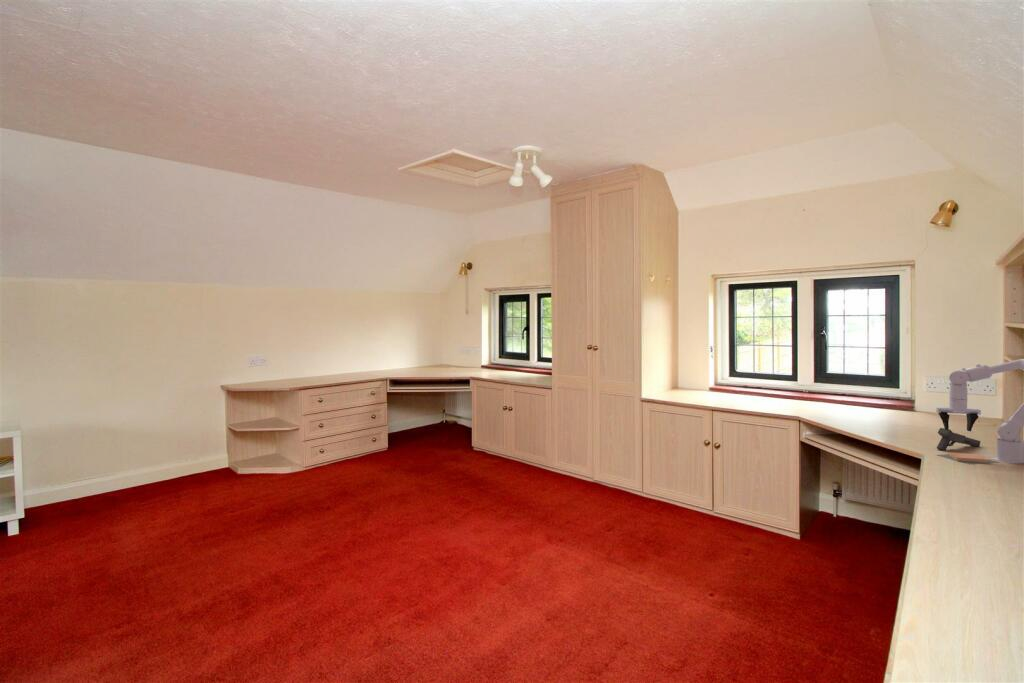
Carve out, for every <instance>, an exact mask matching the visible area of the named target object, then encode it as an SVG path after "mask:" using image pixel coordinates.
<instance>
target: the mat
mask: <svg viewBox="0 0 1024 683" xmlns="http://www.w3.org/2000/svg"><path fill="white" fill-rule="evenodd" d="M965 454H967V453H965ZM936 456H938V457H941V458H944V459H948V460H951V461H954V462H958V463H962V464H967V465H981V464H986V463H978V462H964V461H956V460H954V459H953V458H951V457H950V456H949V453H947V454H946V453H944V454H936ZM987 459H988V458H987ZM996 463H997V464H998V463H1001V461H1000V462H999V461H997V460H994V459H990V458H989V459H988V463H987V464H996Z"/></svg>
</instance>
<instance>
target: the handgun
mask: <svg viewBox="0 0 1024 683" xmlns="http://www.w3.org/2000/svg"><path fill="white" fill-rule="evenodd" d="M937 434H938V436H941V439H940V440H939V442H938V444H937V446H936V449H937V450H939V451H947V449H948V447H953V446H954V444H957V443H958V444H962V445H966V446H967V445H968V446H971V447H977V448H980V446H981V440H979V439H974V438H971V437H968V436H966V435H964V434H963V435H962V434H959V433H957V432H954V431H952V429H950V428H949V429H948V430H945V429H944V427H940V428H939V429H938V431H937Z"/></svg>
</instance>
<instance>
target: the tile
mask: <svg viewBox="0 0 1024 683" xmlns="http://www.w3.org/2000/svg"><path fill="white" fill-rule="evenodd" d="M948 454H949V456H950V457H951V458H953V459H954V460H953V461H955V460H956V461H955V462H958V461H964V462H978V463H985V464H989V463H988V458H986V457H984V456H983V455H980V454H977V453H966V454H965V453H963V452H962V453H961V452H948Z"/></svg>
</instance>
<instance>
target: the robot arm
mask: <svg viewBox="0 0 1024 683" xmlns="http://www.w3.org/2000/svg"><path fill="white" fill-rule="evenodd" d="M1014 370H1021V371H1024V358H1020V359H1019V358H1018V359H1016V360H1011V361H1007V362H1004V363H999V364H996V365H992V366H988V365H987V364H982V365H981V364H980V363H979V364H975V366H973V367H968V368H965V367H963V368H961V369H960V370H954V371H953V372H951V373H950V374H949V377H948V379H949V381H950V382H949V386H950V387H949V396H948V397H949V402H948V404H949V405H948V406H949V407H935V413H938V416H939V417H940V419H941V421H942V424H943V428H944V429H945V430H948V429H949V430H950V428H949V425H950V424H949V421H950V414H960V415H961V414H965V416H966V431H968V432H972V429H973V426H974V424H975V422H976V421H977V420H978V419H979V418H980V417H979V416H980V415H981V413H982V410H981V409H979V408H976V409H974V408H968V382H970V383H972V382H977V381H981V380H982V381H983V380H986V379H990V378H991V377H992V376H993V375H994V374H999V373H1004V372H1010V371H1014ZM1023 428H1024V402H1023V403H1022V404H1020V406H1019V408H1017V410H1016V411H1015V412H1014V413H1013V415H1011V417H1010V418H1008V419H1007V421H1004V422H1002V423H1001V424H1000V425H999V426H998V429H997V434H998V436H997V437H996V457H990V460H994V461H998V462H999V461H1000V462H1003V463H1007V464H1024V440H1023V439H1022V438H1021V437H1020V434H1021V431H1022V429H1023Z"/></svg>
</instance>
